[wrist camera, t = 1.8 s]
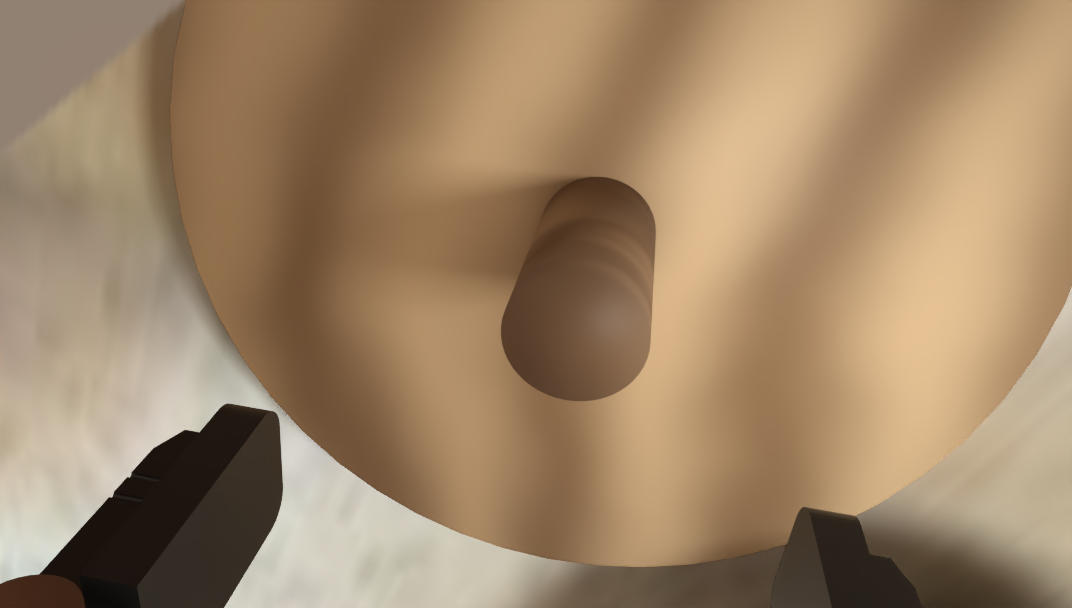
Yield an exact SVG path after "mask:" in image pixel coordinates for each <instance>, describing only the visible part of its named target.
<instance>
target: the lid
mask: <svg viewBox="0 0 1072 608" xmlns="http://www.w3.org/2000/svg"><path fill="white" fill-rule="evenodd" d="M170 128H171V148H172V167H173V172H174V178H175V183H176V189H177V195H178V200H179V206H180V211H181V217H182V221H183V224H184V228H185V231H186V234H187V237H188V241H189V244H190V247H191V250H192V254H193V257H194V260H195V263H196V267H197V269H198V272H199V274H200V276H201V279H202V281H203V283H204V285H205V288H206V290H207V292H208V294H209V297H210V299H211V301H212V304H213V306H214V308H215V310H216V313H217V315H218V317H219V318H220V320H221V322H222V323H223V325H224V327H225V329H226V330H227V332H228V334H229V335H230V337H231V339H232V341H233V342H234V344H235V346H236V347H237V349H238V351H239V353H240V354H241V356H242V358H243V359H244V360H245V362H246V363H247V364H248V366H249V367H250V368H251V370H252V371H253V373H254V374H255V375H256V377H257V378H258V379H259V381H260V382H261V383H262V385H263V386H264V387H265V389H266V390H267V391H268V393H269V394H270V396H271V397H272V398H273V399H274V400H275V401H276V402H277V403H278V404H279V405H280V407H281V408H282V409H283V410H284V411H285V412H286V413H287V414H288V415H289V416H290V417H291V419H292V420H293V421H294V422H295V423H296V424H297V425H298V426H299V427H300V428H301V429H302V431H303V432H305V433H306V434H307V435H308V436H309V437H310V438H311V439H312V440H314V441H315V442H316V443H317V444H318V445H319V446H320V447H321V448H323V449H324V450H325V451H326V452H327V453H328V454H329V455H330V456H332V457H333V458H334V459H335V460H336V461H337V462H338V463H340V464H341V465H342V466H344V467H345V468H347V469H348V470H349V471H351V472H352V473H354V474H355V475H356V476H358V477H359V478H361V479H362V480H363V481H365V482H366V483H367V484H369V485H370V486H372V487H373V488H374V489H376V490H377V491H379V492H381V493H383V494H384V495H386V496H388V497H389V498H391V499H393V500H395V501H396V502H398V503H400V504H401V505H403V506H405V507H407V508H408V509H410V510H412V511H414V512H415V513H417V514H419V515H421V516H424V517H426V518H428V519H430V520H432V521H435V522H437V523H439V524H441V525H443V526H446V527H448V528H450V529H452V530H454V531H457V532H459V533H461V534H464V535H467V536H470V537H473V538H476V539H479V540H482V541H485V542H488V543H491V544H493V545H496V546H499V547H502V548H506V549H510V550H514V551H518V552H523V553H527V554H531V555H535V556H539V557H543V558H548V559H554V560H561V561H569V562H576V563H583V564H590V565H602V566H625V567H655V566H673V565H690V564H697V563H703V562H710V561H716V560H723V559H729V558H736V557H740V556H744V555H748V554H752V553H756V552H760V551H763V550H767V549H771V548H775V547H779V546H783V545H786V544H787V542H788V540H789V537H790V534H791V531H792V528H793V525H794V522H795V519H796V517H797V514H798V512H799V511H800V509H801V508H802V507H808V508H814V509H820V510H825V511H831V512H836V513H842V514H848V515H853V516H856V515H858V514H860V513H862V512H864V511H866V510H868V509H870V508H872V507H874V506H876V505H878V504H879V503H881V502H883V501H884V500H886V499H887V498H889V497H890V496H892V495H893V494H895V493H896V492H898V491H900V490H901V489H903V488H904V487H906V486H907V485H909V484H910V483H912V482H913V481H915V480H917V479H918V478H920V477H921V476H923V475H924V474H925V473H926V472H927V471H929V470H930V469H931V468H932V467H934V466H935V465H936V464H937V463H938V462H940V461H941V460H942V459H943V458H944V457H946V456H947V455H948V454H949V453H951V452H952V451H953V450H954V449H955V448H957V447H958V446H959V445H960V444H961V443H963V442H964V441H965V440H966V439H967V438H968V437H969V436H970V435H971V434H972V432H973V431H974V430H975V429H976V428H977V427H978V426H979V425H980V424H981V423H982V422H983V421H984V420H985V419H986V418H987V417H988V416H989V415H990V414H991V413H992V412H993V410H994V409H995V408H996V407H997V406H998V405H999V404H1000V403H1001V402H1002V401H1003V400H1004V398H1005V397H1006V396H1007V394H1008V393H1009V392H1010V390H1011V389H1012V387H1013V386H1014V385H1015V383H1016V382H1017V381H1018V379H1019V378H1020V377H1021V375H1022V374H1023V373H1024V371H1025V370H1026V369H1027V367H1028V366H1029V365H1030V363H1031V362H1032V360H1033V359H1034V358H1035V356H1036V355H1037V353H1038V351H1039V349H1040V348H1041V346H1042V344H1043V342H1044V340H1045V339H1046V337H1047V335H1048V333H1049V331H1050V330H1051V328H1052V326H1053V324H1054V322H1055V321H1056V319H1057V317H1058V315H1059V313H1060V312H1061V310H1062V308H1063V306H1064V304H1065V302H1066V299H1067V297H1068V294H1069V292H1070V289H1071V287H1072V0H186V2H185V7H184V12H183V16H182V21H181V25H180V30H179V35H178V39H177V44H176V48H175V53H174V63H173V75H172V88H171V101H170Z"/></svg>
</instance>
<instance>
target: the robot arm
mask: <svg viewBox="0 0 1072 608" xmlns="http://www.w3.org/2000/svg"><path fill="white" fill-rule="evenodd" d="M282 493H283V481H282V462H281V443H280V425H279V418H278V416H277V414H276V413H275V412H273V411H268V410H262V409H256V408H251V407H245V406H239V405H234V404H225V405H224V406H222V407H221V408H220V409H219V410H218V411H217V412H216V414H215V415H214V416H213V417H212V418H211V420H210V421H209V422H208V423H207V424H206V425H205V427H204V428H203V429H202V430H201V431H200V433H199V432H194V431H188V430H184V431H183V432H181V433H179V434H177V435H176V436H174V437H172V438H171V439H169V440H167V441H165V442H164V443H162V444H160V445H159V446H157V447H155V448H153V449H152V451H151V452H150V453H149V454H148V455H147V456H146V457H145V458H144V459H143V461H142V462H141V463H140V464H139V465H138V466H137V467H136V468H135V469H134V470H133V472H132V475H131V477H130V478H129V477H127V478H126V479H125V480H124V482H123V483H122V484H121V485H120V486H119V487H118V488H117V489H116V490H115V492H114V495H113V497H112V498H110V497H109V498H108V499H107V500H106V501H105V503H104V504H103V505H102V506H101V507H100V508H99V509H98V510H97V511H96V513H95V514H94V515H93V516H92V517H91V518H90V519H89V520H88V521H87V522H86V524H85V525H84V526H83V527H82V528H81V529H80V530H79V531H78V532H77V534H76V535H75V536H74V537H73V538H72V539H71V540H70V541H69V542H68V543H67V545H66V546H65V547H64V548H63V549H62V550H61V551H60V552H59V553H58V555H57V556H56V557H55V558H54V559H53V560H52V561H51V562H50V563H49V565H48V566H47V567H46V568H45V569H44V570H43V571H42V572H41V573H40V574H39V575H29V576H24V577H19V578H15V579H12V580H9V581H6V582H4V583H1V584H0V608H224V607H225V605H226V603H227V602H228V600H229V599H230V597H231V595H232V594H233V592H234V590H235V589H236V587H237V585H238V584H239V582H240V580H241V579H242V577H243V575H244V574H245V572H246V571H247V569H248V567H249V566H250V564H251V562H252V561H253V559H254V557H255V556H256V554H257V552H258V551H259V549H260V548H261V546H262V544H263V543H264V541H265V539H266V538H267V536H268V534H269V533H270V531H271V529H272V527H273V526H274V523H275V521H276V519H277V516H278V513H279V509H280V505H281V501H282ZM771 608H922V607H921V604H920V601H919V598H918V596H917V593H916V590H915V588H914V587H913V586H912V585H911V583H910V582H909V581H908V580H907V578H906V577H905V576H904V575H903V573H902V572H901V571H900V570H899V568H898V567H897V566H896V565H895V564H894V562H893V561H892V560H891V559H890V558H885V557H880V556H874V555H870V554H869V551H868V547H867V544H866V541H865V538H864V534H863V531H862V528H861V525H860V522H859V520H858V518H857V517H856V516H853V515H848V514H842V513H836V512H831V511H825V510H820V509H814V508H808V507H802V508H801V509H800V511H799V512H798V514H797V517H796V519H795V522H794V525H793V528H792V531H791V534H790V537H789V540H788V542H787V545H786V548H785V551H784V554H783V557H782V560H781V563H780V566H779V568H778V571H777V574H776V577H775V580H774V584H773V589H772V595H771Z"/></svg>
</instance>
